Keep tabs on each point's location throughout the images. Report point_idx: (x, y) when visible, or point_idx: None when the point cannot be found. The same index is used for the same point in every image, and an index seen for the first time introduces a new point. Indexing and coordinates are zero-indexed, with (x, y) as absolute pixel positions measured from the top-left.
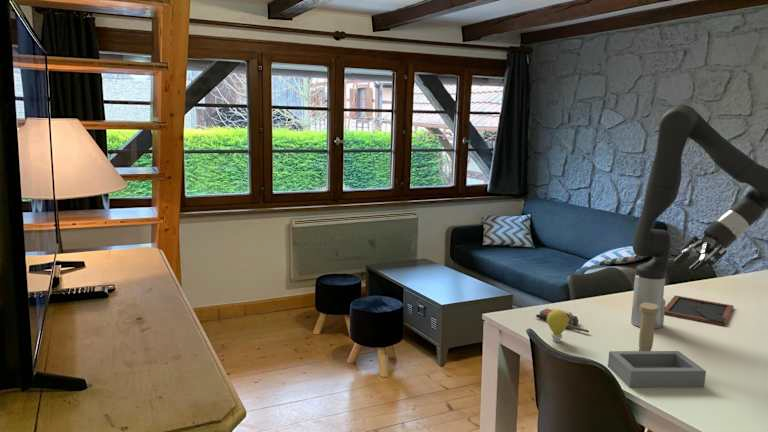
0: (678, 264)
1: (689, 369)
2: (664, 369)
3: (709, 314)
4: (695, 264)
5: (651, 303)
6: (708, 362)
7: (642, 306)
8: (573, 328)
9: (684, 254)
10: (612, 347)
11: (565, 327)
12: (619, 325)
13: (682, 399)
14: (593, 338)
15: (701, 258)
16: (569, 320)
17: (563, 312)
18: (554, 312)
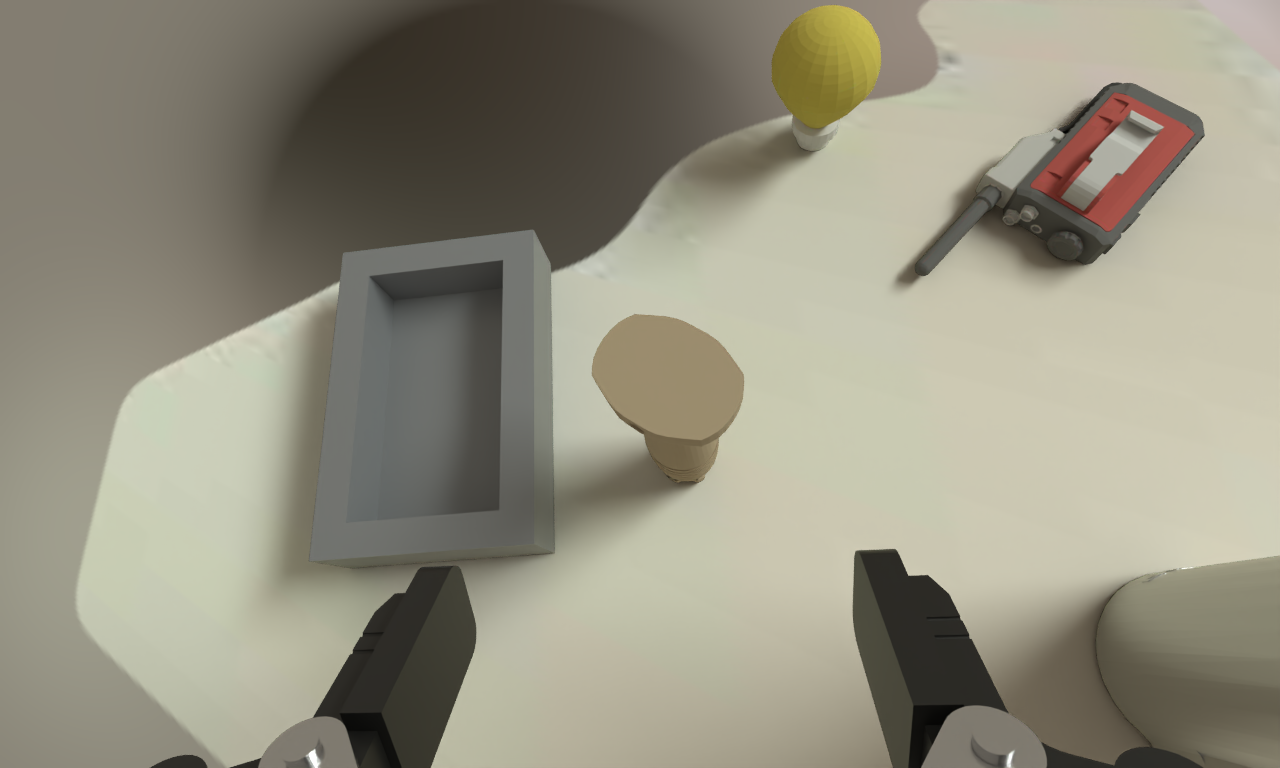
0: (856, 621)
1: (330, 490)
2: (343, 383)
3: None
4: (387, 643)
5: (726, 412)
6: (599, 751)
7: (650, 325)
8: (960, 217)
9: (908, 728)
10: (756, 341)
11: (793, 111)
12: (1117, 483)
13: (273, 430)
14: (864, 289)
15: (289, 741)
16: (1022, 194)
17: (815, 45)
18: (812, 11)
